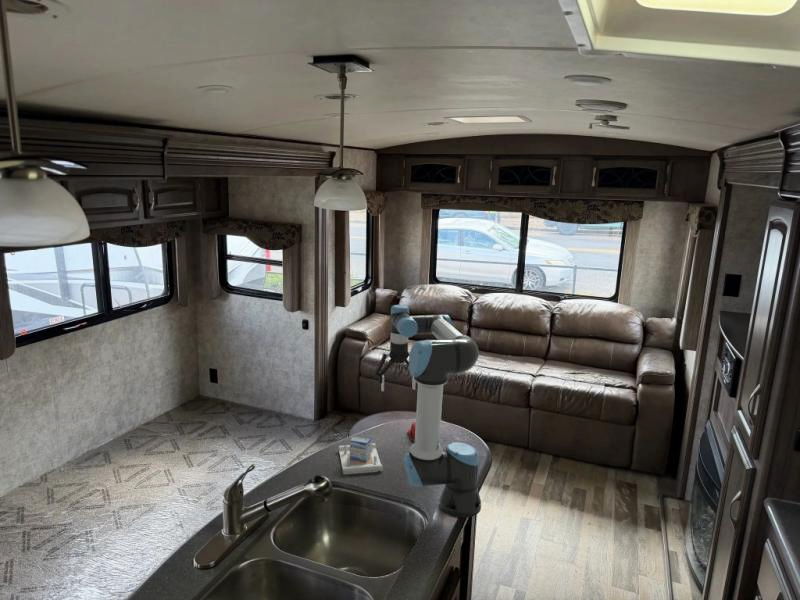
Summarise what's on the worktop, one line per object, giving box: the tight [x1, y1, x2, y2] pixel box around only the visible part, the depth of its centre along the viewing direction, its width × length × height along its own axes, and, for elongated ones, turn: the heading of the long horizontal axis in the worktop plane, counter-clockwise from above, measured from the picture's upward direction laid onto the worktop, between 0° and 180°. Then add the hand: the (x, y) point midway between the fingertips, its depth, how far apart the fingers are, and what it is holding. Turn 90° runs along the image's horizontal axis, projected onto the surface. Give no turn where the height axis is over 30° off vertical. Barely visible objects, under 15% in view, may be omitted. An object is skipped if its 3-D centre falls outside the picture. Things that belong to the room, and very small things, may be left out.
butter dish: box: [407, 421, 416, 441], centre depth 257 cm, size 12×12×8 cm
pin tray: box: [338, 442, 384, 475], centre depth 233 cm, size 20×16×4 cm
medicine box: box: [349, 436, 372, 462], centre depth 232 cm, size 8×4×9 cm, turn 73°
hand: (398, 389), depth 236 cm, fingers open, 13 cm apart
